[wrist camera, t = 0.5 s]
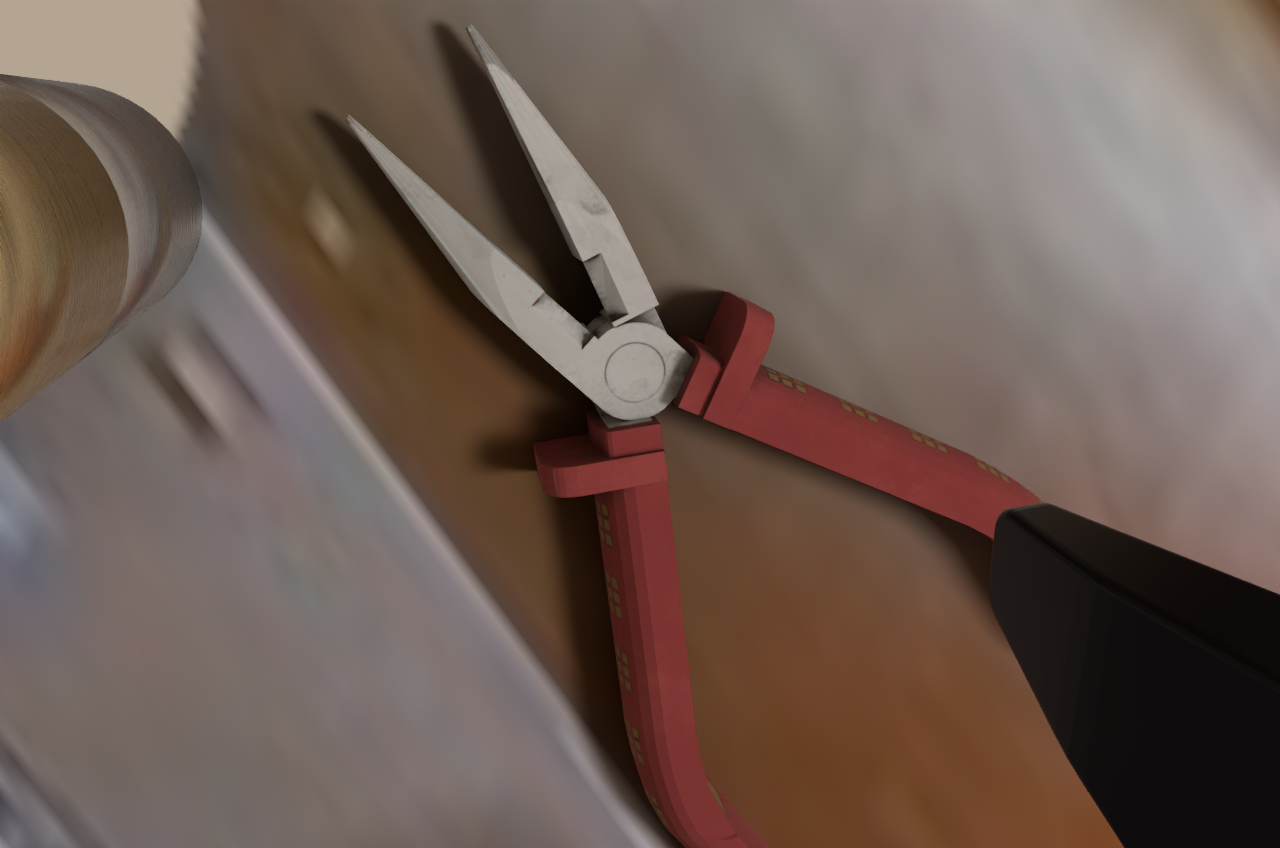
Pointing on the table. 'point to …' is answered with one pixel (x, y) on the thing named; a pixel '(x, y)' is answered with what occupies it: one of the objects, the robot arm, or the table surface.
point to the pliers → (632, 441)
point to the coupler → (83, 225)
